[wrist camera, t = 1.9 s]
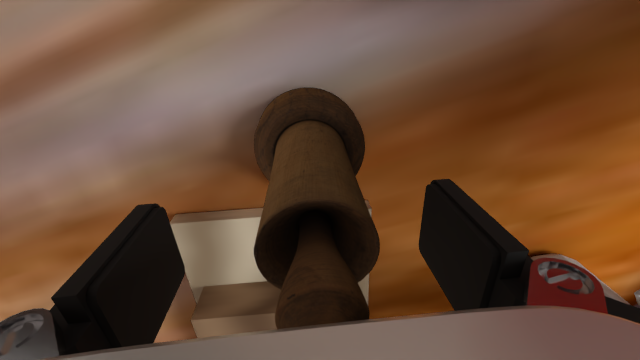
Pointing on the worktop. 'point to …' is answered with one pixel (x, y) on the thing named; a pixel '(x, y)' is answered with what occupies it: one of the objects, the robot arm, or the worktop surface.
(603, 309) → the robot arm
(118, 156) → the worktop surface
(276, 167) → the brown wooden pepper mill
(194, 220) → the birch board
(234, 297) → the walnut base block
